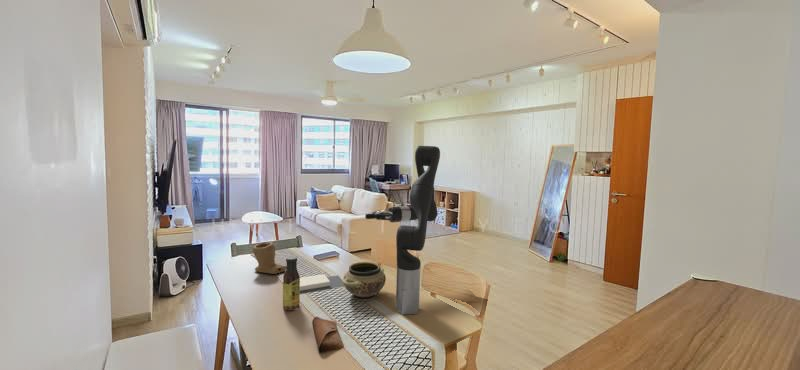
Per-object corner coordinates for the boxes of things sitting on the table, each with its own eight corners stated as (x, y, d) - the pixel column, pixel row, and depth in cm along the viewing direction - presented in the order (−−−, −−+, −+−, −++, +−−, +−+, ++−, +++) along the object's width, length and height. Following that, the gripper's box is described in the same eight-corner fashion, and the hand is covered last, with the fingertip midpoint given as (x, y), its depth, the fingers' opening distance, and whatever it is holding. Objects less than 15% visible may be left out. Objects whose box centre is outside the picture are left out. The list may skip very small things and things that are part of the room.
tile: (324, 274, 157) (294, 278, 150) (330, 281, 148) (298, 286, 141) (324, 278, 157) (294, 283, 150) (330, 286, 148) (298, 292, 141)
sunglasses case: (346, 348, 102) (335, 332, 100) (327, 363, 100) (315, 347, 98) (335, 320, 119) (326, 307, 117) (318, 333, 117) (308, 319, 115)
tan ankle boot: (248, 273, 163) (247, 243, 162) (267, 266, 174) (266, 238, 172) (270, 278, 157) (270, 248, 155) (288, 271, 167) (288, 242, 166)
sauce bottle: (294, 312, 124) (294, 261, 122) (279, 310, 125) (279, 260, 124) (302, 304, 131) (302, 256, 129) (288, 302, 132) (288, 254, 130)
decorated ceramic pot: (371, 289, 154) (365, 257, 155) (401, 289, 144) (394, 255, 145) (332, 308, 134) (326, 272, 135) (364, 310, 124) (357, 270, 125)
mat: (338, 276, 162) (338, 275, 162) (347, 286, 150) (347, 285, 150) (287, 284, 151) (287, 283, 151) (293, 295, 138) (292, 294, 138)
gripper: (393, 204, 164) (360, 206, 156) (406, 208, 152) (371, 210, 144) (392, 219, 164) (360, 221, 156) (405, 224, 153) (371, 227, 145)
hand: (366, 216), depth 150 cm, fingers closed
